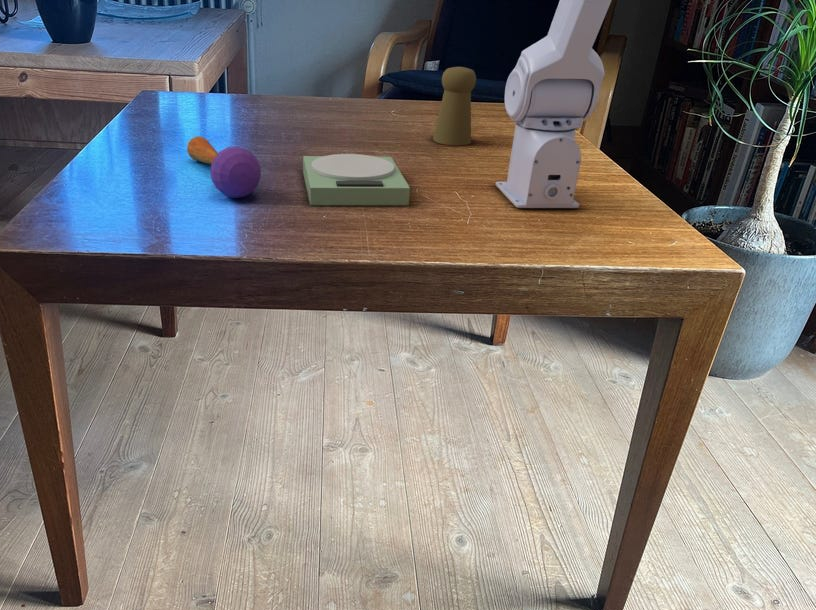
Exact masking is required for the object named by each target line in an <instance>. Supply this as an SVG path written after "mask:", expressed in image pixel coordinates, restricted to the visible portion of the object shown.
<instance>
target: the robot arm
mask: <svg viewBox="0 0 816 610" xmlns="http://www.w3.org/2000/svg"><path fill="white" fill-rule="evenodd" d="M612 1H613V0H559V1H558V5H557V7H556V9H555V13H554V16H553V18H552V21H551V24H550V27H549V30H548V32H547V35H546V36H544V37H543V38H541V39H540V40H538V41H536V42H535V43H533V44H531V45H530V46H528V47H526V48H525V49H523V50H522V51H521V53H520V56H519V58H518V59H517V62H516V65H515V67H514V68H513V69H512V70H511V72H510V73H509V75H508V77H507V80H506V83H505V89H504V108H505V111H506V114H507V115H508V116H509V118H510V120H511V121H512V122H514V123H515V124H514V125H515V126H514V132H513V139H512V144H511V151H510V158H509V165H508V171H507V177H506V181H496V182H495V186H496V188H498V190H499V191H500V192H501V193H502V194H503V195H504V196H505V197H506V198H507V200H508V201H510V202H511V203H512V205H513V206H514V207H515V208H517V209H579V208H580V203H579V202H578V201H577V200H575V199H574V197H575V194H576V188H577V184H578V177H579V173H580V168H581V163H582V151H581V148H580V146H579V145H578V143H577V141H576V137H575V136H576V131H577V129H582V128H583V123H584V122H585V121H587V120H588V119H589V118H590V117H591V116H592V114H593V113H594V112H595V110H596V107H597V106H598V102H599V99H600V93H601V91H600V90H601V87H602V83H603V79H604V77H605V75H606V73H605V68H604V67H605V66H604V64H603V61H602V58H601V57H600V56H599V54H598V53H597V52H596V51H595V50H594V49H593V46H594V44H595V42H596V39H597V36H598V34H599V32H600V30H601V27H602V25H603V22H604V19H605V17H606V15H607V12H608V10H609V8H610V6H611V3H612Z"/></svg>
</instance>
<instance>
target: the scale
mask: <svg viewBox="0 0 816 610" xmlns="http://www.w3.org/2000/svg"><path fill="white" fill-rule="evenodd" d="M302 158H303V159H302V173H303V174H302V175H303V177H304V178H303V179H304V183H305V187H306V192H307V197H308V202H309V206H409V205H410V197H411V196H410V195H411V194H410V193H411V187H410V185H409V184H408V182H407V180H406V179H405V177H404V175H403V174H402V172H401V170H400V169H399V167H398V166H397V164H396V162H395V160H394V159H393V158H392V156H374V155H367V154H360V153H359V154H358V153H337V154H328V155H303V156H302Z"/></svg>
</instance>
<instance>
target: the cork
mask: <svg viewBox="0 0 816 610" xmlns="http://www.w3.org/2000/svg"><path fill="white" fill-rule="evenodd" d="M476 82H477V75H476V73H475V71H474V69H471V68H469V67H464V66H452V67H448V68H446V69H445V70H444V71H443V73H442V76H441V86H442V88H443V89H444V91H443V94H442V99H441V102H440V103H441V104H440V108H439V111H438V116H437V121H436V125H435V129H434V134H433V138H432V140H433V142H435V143H437V144H439V145H440V144H441V145H447V146H467V145H469V144H471V143H472V91H473V89H474V88H475V86H476Z"/></svg>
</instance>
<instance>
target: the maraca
mask: <svg viewBox="0 0 816 610" xmlns="http://www.w3.org/2000/svg"><path fill="white" fill-rule="evenodd" d="M186 149H187V154H188V156H189V157H190V158H191V159H192V160H194V161H196V162H200V163H205V164H208V165H211V166H210V169H209V170H210V180H211V182H212V183H213V186H214V187H215V188H216V189H217V190H218V191H219V192H220V193H221V194H222V195H224V196H225V197H229V198H232V199H241V198H245V197H247V196H249V195H251V194H252V193H253V192H254V191H255V190H256V188H257V187H258V186H259V183H260V179H261V177H262V172H261V170H262V169H261V164H260V162H259V160H258V158H257V157H256V155H254V154H253V153H252V152H251V151H250V150H248V149H246V148H244V147H240V146H239V145H238V146H227V147H226V148H223V149H222V150H220V151H217V150H216V149H215V148H214V146H213V145H212V144H211V143H210V141H209V140H208V139H206V137H204V136H194V137H193V138H191V139H190V140H189V141H188V142H187V146H186Z"/></svg>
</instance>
